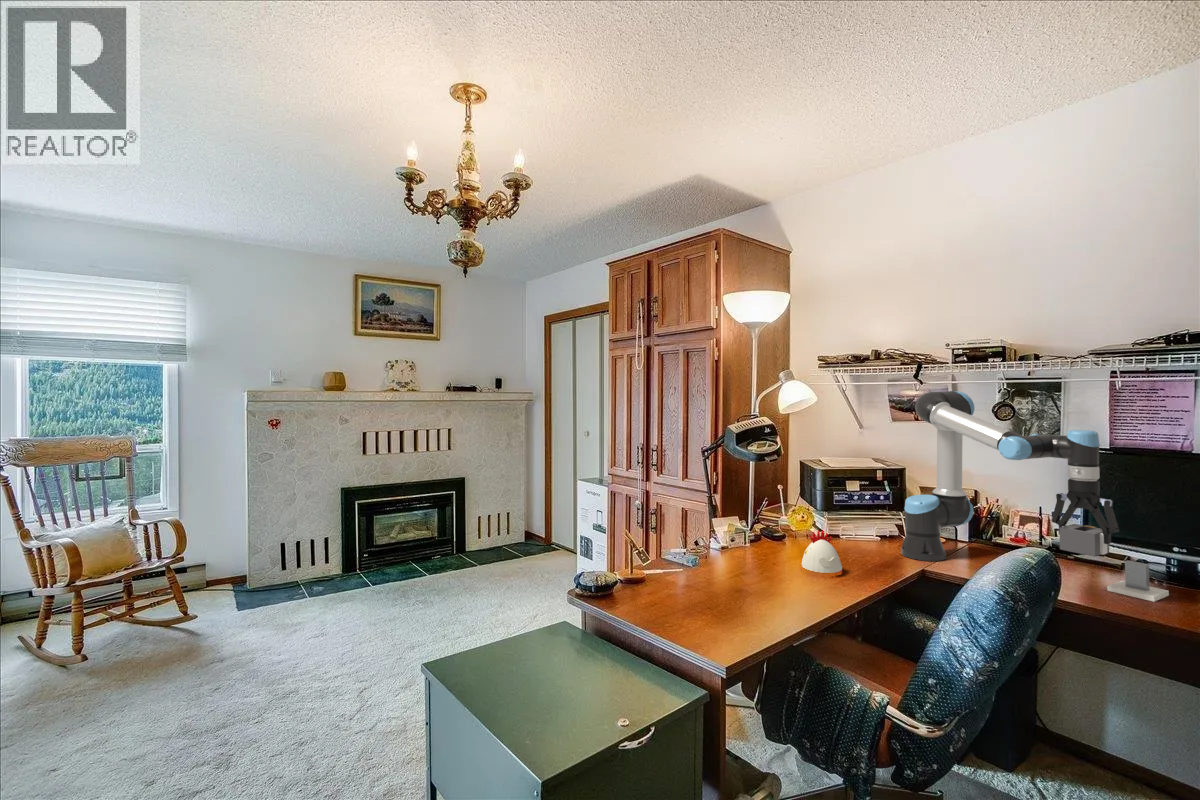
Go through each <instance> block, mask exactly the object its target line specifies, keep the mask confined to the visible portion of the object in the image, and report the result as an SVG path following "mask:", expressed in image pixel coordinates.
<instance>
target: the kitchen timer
mask: <svg viewBox="0 0 1200 800" xmlns="http://www.w3.org/2000/svg"><path fill="white" fill-rule="evenodd" d="M828 535H829V534H828V533H825V532H824V530H821V532H820V531H819V530H817V532H816V533H815V531H812V535H810V534H808V537H809V540H810V541H811V543H809V545H808V546H807V547H806V549H805V551H804V552H803V556H802V559H801V565H802V566H801V568H802V567H803V568H805V569H807V570H810V571H814V572H819V573H838V572H841V571H842V572H843V566H842V561H841V558H840V557H839V554H838V553H837V550H836V549H835V547H834V546H833V545H832V543H831V541H832V536H829V538H828Z"/></svg>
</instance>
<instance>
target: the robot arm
mask: <svg viewBox="0 0 1200 800" xmlns="http://www.w3.org/2000/svg"><path fill="white" fill-rule="evenodd" d="M914 408H915V413H916V415H917V416H918V417H919V418H920V419H921V420H923V421H924V422H926V423H928V424H931V425H933V426H934V427H935V428H936V487H935V488H934V489H933V490H932V493H931V494H915V495H914V494H913V495H911V496H910V495H909V496H908V497H907V498H906V499H905V500H904V501H905V502H904V517H905V518H904V521H905V524H904V525H905V537H904V538H903V541H902V545H901V547H900V550H901V551H900V552H901V553H900V554H901V556H904V557H905V558H909V559H913V560H916V559H917V560H918V561H924V562H939V561H944V560H946V558H947V556H946V554H947V553H946V550H945V549H944V545H943V542H942V540H941V533H940V532H941V531H940V530H941V529H942V528H948V527H959V526H961V525H965V524H967V523H969V522H970V521H971V520H972V518H973V516H974V505H973V504H972V502H971V500H970V499H969V498H968V497H967V493H966V492H965V491H964V490H963V436H965V437H967V438H969V439H971V440H973V441H976V442H979V443H981V444H983V445H985V446H987V447H989V448H992V449H994V450H996V451H998V452H999V454H1000V455H1001V456H1002V457H1003V458H1004V459H1007V460H1011V461H1023V460H1030V459H1044V458H1053V459H1054V458H1055V459H1057V458H1058V459H1064V460H1065V459H1066V460H1067V477H1068V479H1067V490H1068V491H1067V493H1064V492H1063V493H1062V492H1060V493H1056V495H1055V497H1056V498H1055V499H1056V503H1055V505H1054V506H1055V507H1054V510H1053V513H1052V517H1051V522H1052V523H1055V524H1056V525H1058V535H1059V536H1060V527H1064V526H1068V524H1067V523H1068V522H1069V521H1070V519H1071V517H1072V516H1073V514H1074V513H1075V512H1076V510H1077V509H1083V510H1089V512H1090V513H1091V515H1092V516H1093V518H1094V519H1095V521H1096V522H1097V525H1098V526H1099V528H1101V530H1102V531H1103V532H1102V533H1100V554H1102V555H1104V556H1105V555H1106V554H1108V553H1107V544H1109V545H1110V544H1111V543H1112V534H1116V533H1119V532H1120V528H1119V526H1118V522H1117V518H1116V514H1115V512H1114V508H1113V507H1114V506H1113V505H1114V504H1113V503H1114V500H1112V499H1106V498H1102V497H1101V495H1100V490H1101V489H1100V488H1101V487H1100V481H1099V479H1100V447H1101V446H1100V438H1099V437H1100V436H1099V433H1098V432H1097V431H1095V430H1089V429H1088V430H1087V429H1071V430H1068V431H1067V435H1060V434H1059V435H1058V434H1047V433H1032V434H1029V435H1022V434H1019V433H1017V432H1013V431H1011V430H1010V429H1006V428H1004V427H1002V426H1000V425H997V424H994V423H992V422H989V421H987V420H984V419H981V418H979V417H976V416H974V413H975V404H974V401H973V399H972V398H971V397H970V396H969V395H968V394H967V393H965V392H962V391H955V390H947V391H946V390H945V391H929V392H926V393H923V394H922V395H920V396H919V397H918V398H917V400H916V402H915V405H914ZM1067 499H1068V501H1069V502H1070V504H1069V505H1068V506H1067V508H1066V511H1065V512H1064V513H1063V509H1064V507H1065V502H1066V501H1067ZM1099 503H1101V506H1103V510H1104V514H1105V517H1106V519H1105V518H1104V515H1103V514H1102V512H1101V509H1100V507H1099V505H1098V504H1099ZM1062 513H1063V515H1062ZM917 560H916V561H917Z"/></svg>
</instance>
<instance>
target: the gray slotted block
mask: <svg viewBox="0 0 1200 800" xmlns="http://www.w3.org/2000/svg"><path fill="white" fill-rule="evenodd" d="M1102 532H1103V531H1102V530H1101V528H1100V527H1096V526H1092V525H1087V524H1086V525H1082V524H1077V523H1071V524H1069V525H1068V524H1067V526H1066V525H1065V526H1064V527H1060V535H1059V550H1062V551H1066V552H1069V553H1074V554H1075V553H1076V554H1081V555H1084V556H1085V555H1086V556H1091V557H1098V556H1101V555H1102V554H1100V533H1102ZM1108 553H1110V544H1107V554H1108Z"/></svg>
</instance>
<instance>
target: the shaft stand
mask: <svg viewBox="0 0 1200 800" xmlns="http://www.w3.org/2000/svg"><path fill="white" fill-rule="evenodd" d="M1124 575H1125V577H1124V579H1125V580H1120V581H1117V582H1115V583H1111V584H1110V585H1109V584H1108V585H1107V589H1106V590H1107V591H1108V592H1112V593H1116V594H1120V595H1124V596H1128V597H1133V598H1137V599H1142V600H1146V601H1150V602H1152V603H1153V602H1154V603H1155V602H1157V601H1158V600H1161V599H1164V598H1166V597H1169V596H1170V593H1169V590H1167V589H1162V588H1159V587H1155V586H1150V564H1148V563H1144V562H1138V561H1133V560H1125V561H1124Z"/></svg>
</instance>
